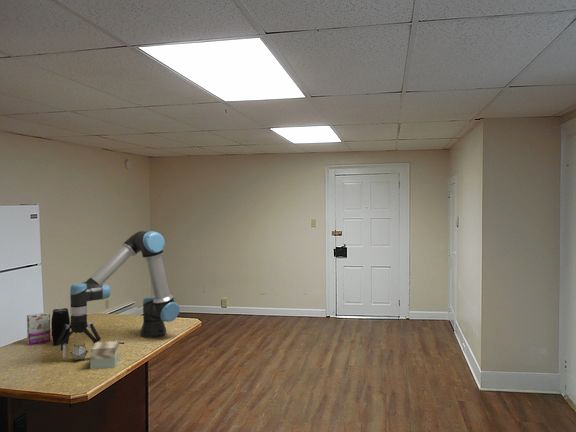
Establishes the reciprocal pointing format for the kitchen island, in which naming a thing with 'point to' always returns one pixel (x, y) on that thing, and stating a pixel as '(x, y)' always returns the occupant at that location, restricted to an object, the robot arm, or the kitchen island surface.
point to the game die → (79, 352)
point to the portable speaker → (59, 324)
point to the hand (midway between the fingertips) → (79, 356)
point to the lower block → (104, 363)
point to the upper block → (104, 350)
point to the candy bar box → (38, 328)
